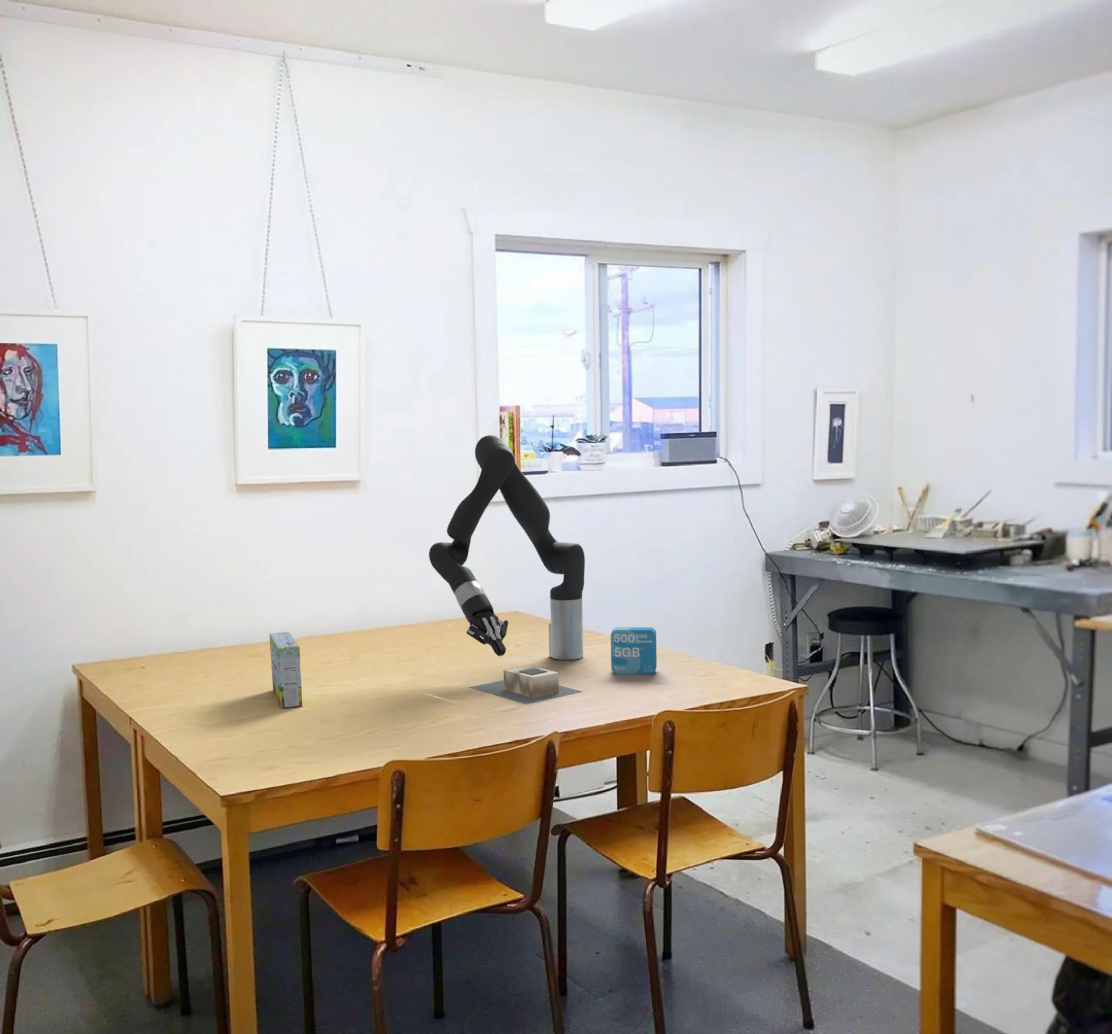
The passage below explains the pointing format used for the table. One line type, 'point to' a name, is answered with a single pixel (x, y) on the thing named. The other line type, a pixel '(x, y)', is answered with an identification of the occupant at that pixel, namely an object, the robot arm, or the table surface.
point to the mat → (498, 690)
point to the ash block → (531, 681)
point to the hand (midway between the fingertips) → (502, 654)
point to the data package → (633, 650)
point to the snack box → (286, 669)
